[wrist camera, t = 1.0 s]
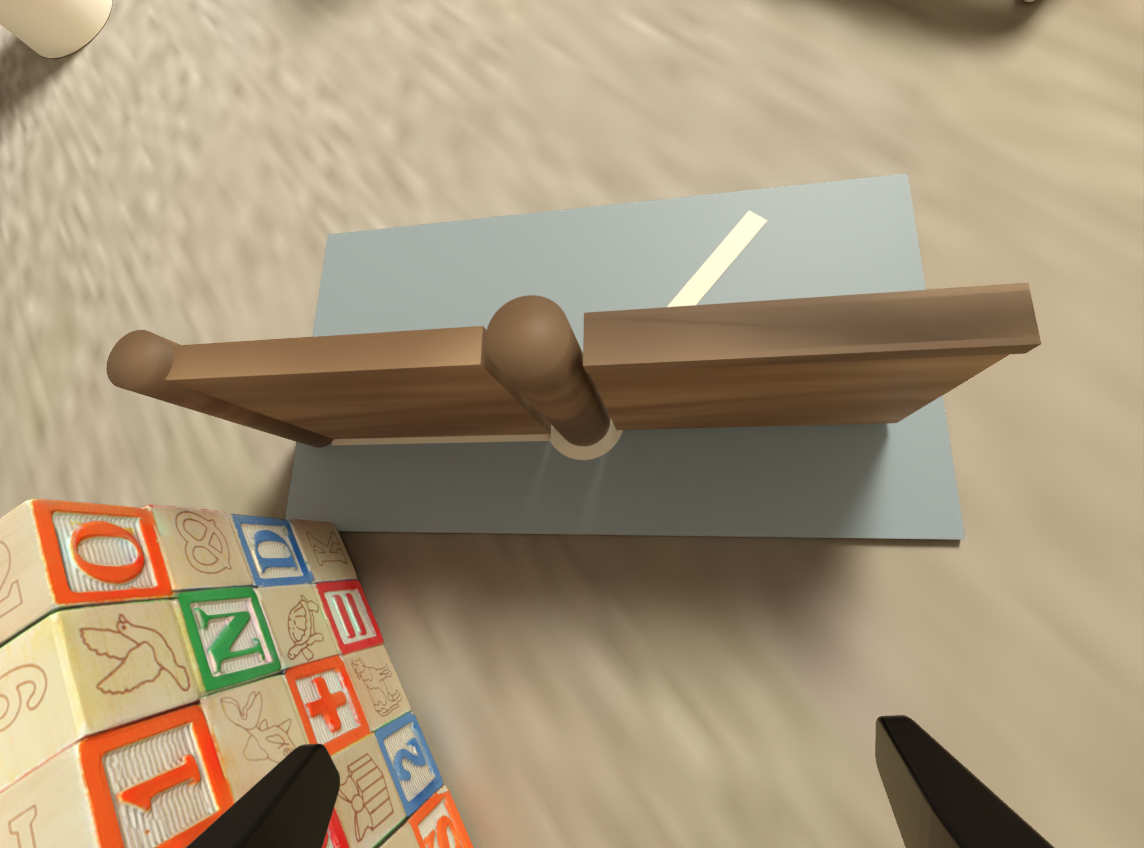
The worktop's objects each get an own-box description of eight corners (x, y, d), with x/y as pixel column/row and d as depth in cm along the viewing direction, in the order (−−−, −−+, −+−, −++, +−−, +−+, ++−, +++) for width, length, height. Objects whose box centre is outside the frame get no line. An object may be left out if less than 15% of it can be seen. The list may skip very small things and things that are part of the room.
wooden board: (897, 428, 20) (1041, 344, 12) (616, 434, 23) (582, 365, 14) (891, 389, 21) (1028, 283, 13) (616, 399, 23) (583, 312, 15)
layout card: (961, 539, 20) (965, 539, 20) (287, 530, 25) (282, 530, 25) (904, 178, 24) (907, 172, 23) (331, 237, 29) (327, 234, 29)
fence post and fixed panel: (610, 446, 23) (568, 374, 14) (300, 451, 26) (99, 395, 17) (610, 393, 24) (570, 292, 15) (307, 405, 26) (116, 326, 17)
